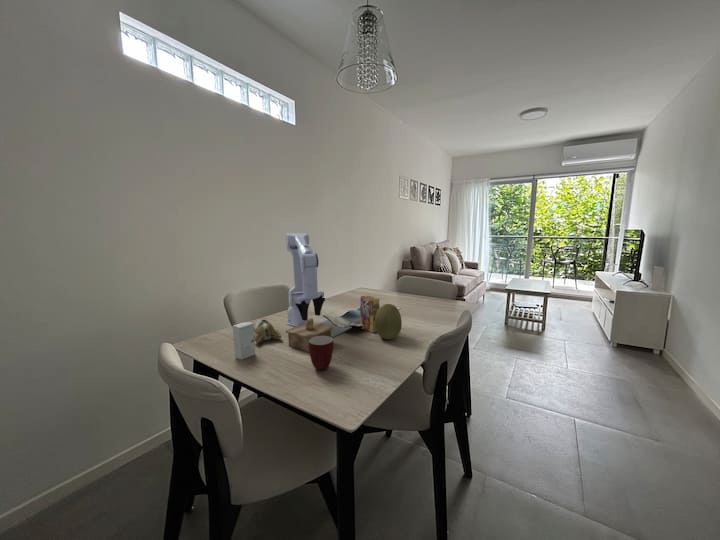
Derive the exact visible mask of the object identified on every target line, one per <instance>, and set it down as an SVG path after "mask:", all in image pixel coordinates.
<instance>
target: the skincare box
mask: <svg viewBox="0 0 720 540" xmlns="http://www.w3.org/2000/svg"><path fill="white" fill-rule="evenodd" d="M254 325H255V324H254V323H253V322H250V321H244V322H241V323H238V324H232V335H233V337H232V338H233V350H234V358H236V359H238V360H240V359H241V360H240V361H242V360H244V359H248V358H249V357H252V356H255V355H256V347H255V343H256V341H255V340H254V335H255V333H254Z"/></svg>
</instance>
